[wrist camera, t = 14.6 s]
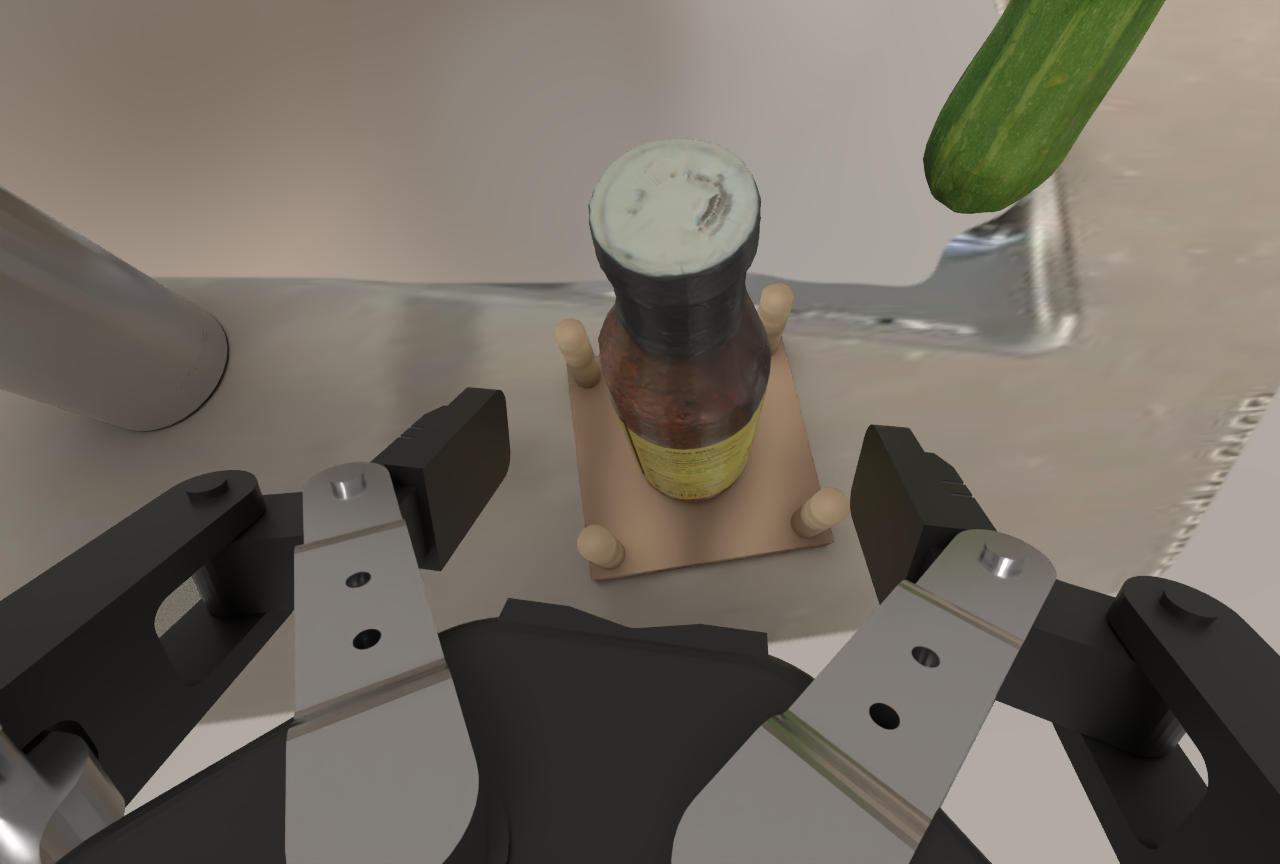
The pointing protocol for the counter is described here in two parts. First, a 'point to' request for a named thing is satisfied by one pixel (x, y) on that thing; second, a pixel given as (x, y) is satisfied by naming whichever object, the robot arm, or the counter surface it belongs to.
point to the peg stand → (706, 530)
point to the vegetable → (1029, 97)
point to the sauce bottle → (682, 312)
